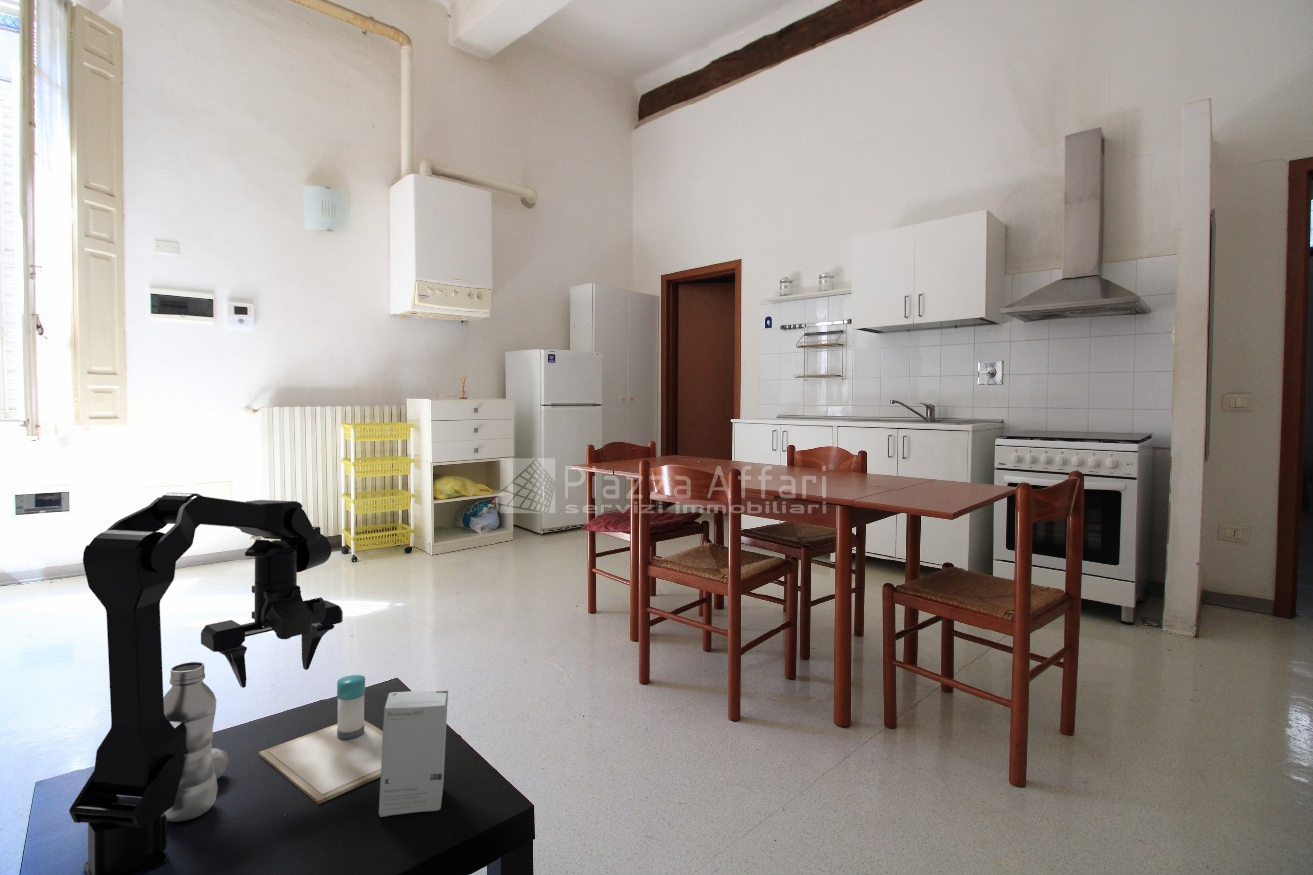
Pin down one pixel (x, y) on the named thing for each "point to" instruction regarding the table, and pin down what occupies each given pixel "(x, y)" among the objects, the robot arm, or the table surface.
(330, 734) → the picture frame
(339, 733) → the cylinder
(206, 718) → the plastic bottle
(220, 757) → the garlic
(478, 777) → the table surface
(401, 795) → the skincare box
